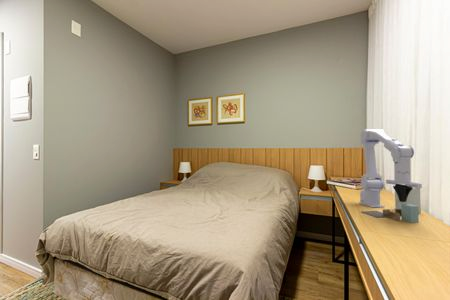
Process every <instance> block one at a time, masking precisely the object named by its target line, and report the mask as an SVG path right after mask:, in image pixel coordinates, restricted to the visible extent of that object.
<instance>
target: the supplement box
mask: <svg viewBox="0 0 450 300" xmlns="http://www.w3.org/2000/svg"><path fill="white" fill-rule="evenodd" d="M394 201H395V205H394V207H395V208H394V210H395V209H401V204H411V205H415V206H418V214H421V212H422V207H421V206H422V205H421V188H413V189H412V190H411V191H410V193H409V195H408V197H407V200H406V202H400V201H399V198H398V195H397V193H396V191H395V190H394Z"/></svg>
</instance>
